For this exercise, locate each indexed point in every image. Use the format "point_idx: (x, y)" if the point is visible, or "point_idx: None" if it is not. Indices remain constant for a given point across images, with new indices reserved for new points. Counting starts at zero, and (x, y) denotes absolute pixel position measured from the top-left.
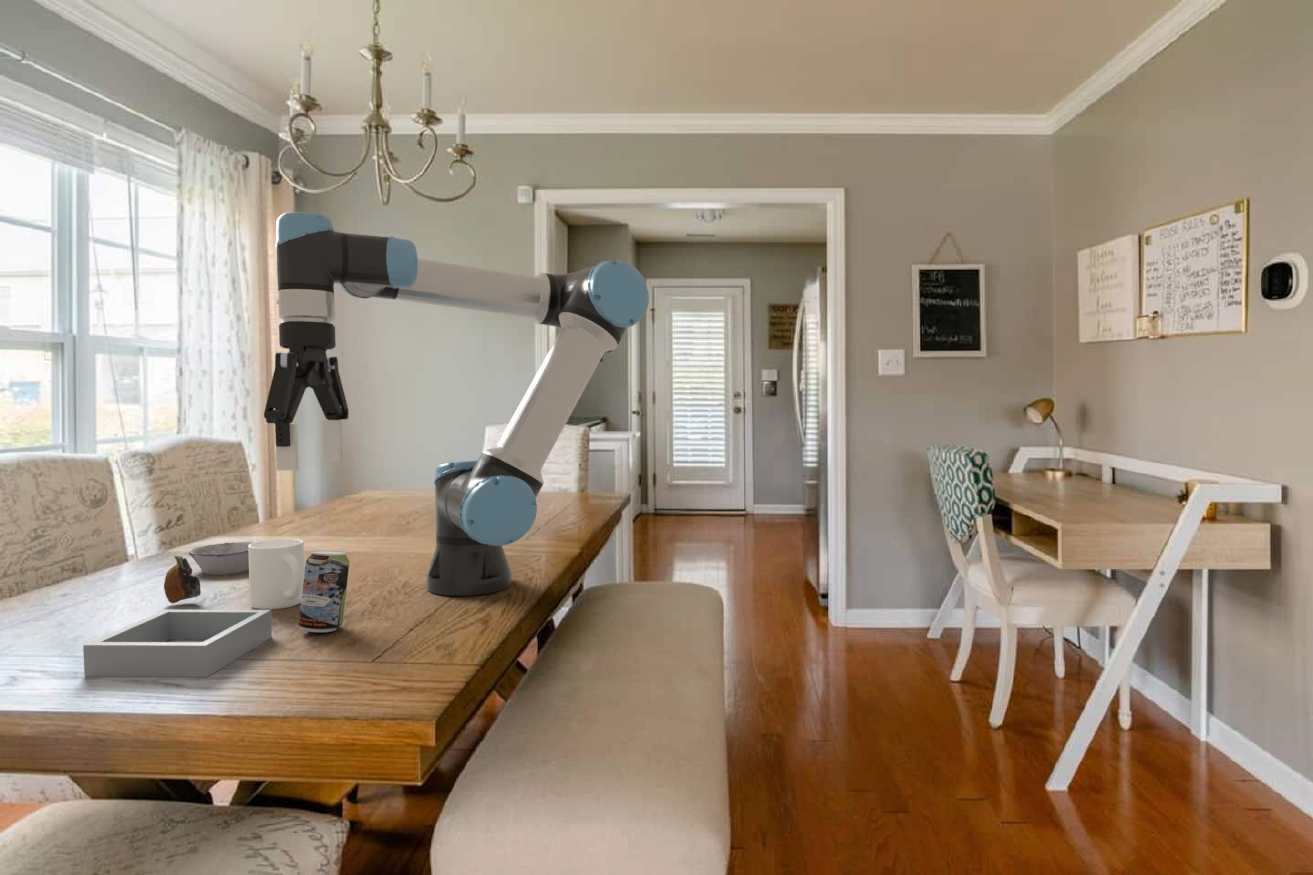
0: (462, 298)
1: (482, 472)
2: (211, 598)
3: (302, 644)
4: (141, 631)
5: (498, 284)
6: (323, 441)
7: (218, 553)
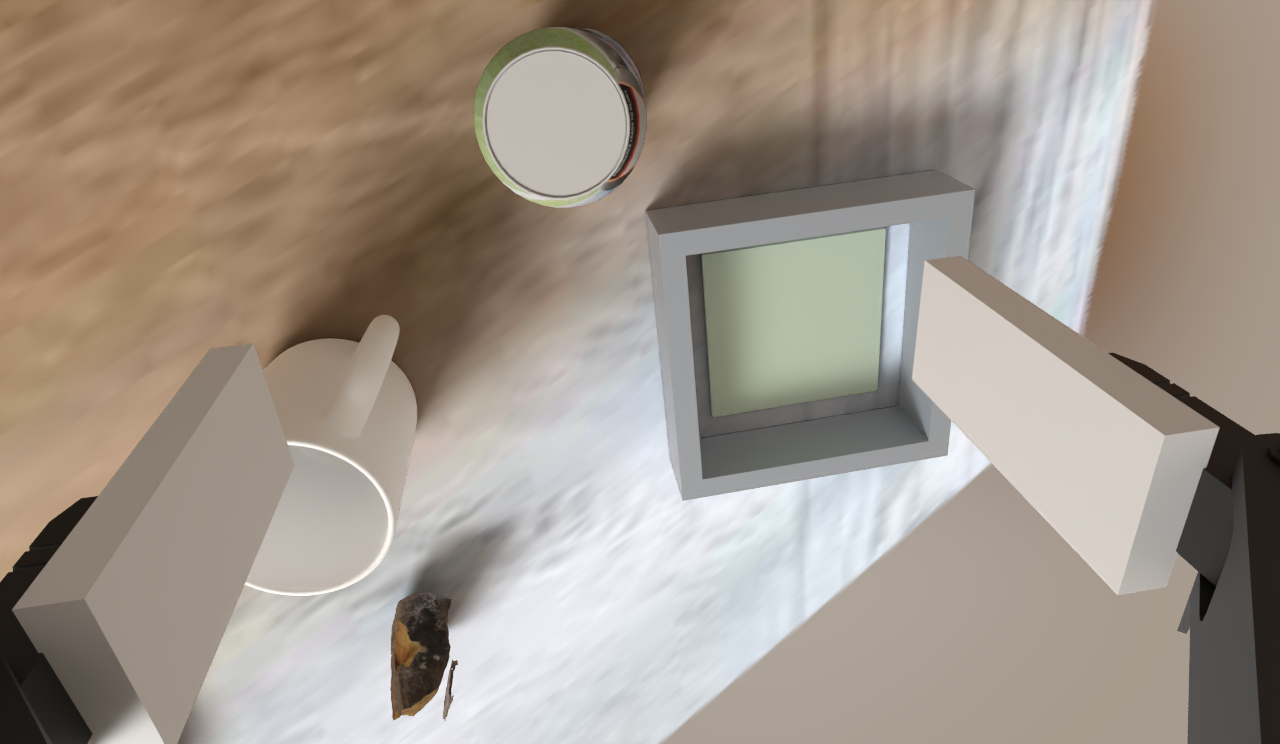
0: None
1: None
2: (351, 592)
3: (697, 78)
4: (794, 452)
5: None
6: (249, 569)
7: None
